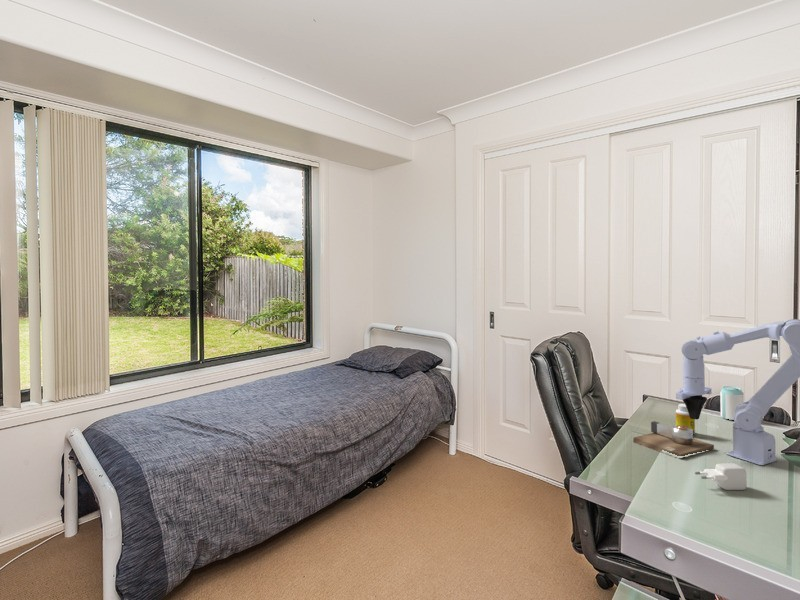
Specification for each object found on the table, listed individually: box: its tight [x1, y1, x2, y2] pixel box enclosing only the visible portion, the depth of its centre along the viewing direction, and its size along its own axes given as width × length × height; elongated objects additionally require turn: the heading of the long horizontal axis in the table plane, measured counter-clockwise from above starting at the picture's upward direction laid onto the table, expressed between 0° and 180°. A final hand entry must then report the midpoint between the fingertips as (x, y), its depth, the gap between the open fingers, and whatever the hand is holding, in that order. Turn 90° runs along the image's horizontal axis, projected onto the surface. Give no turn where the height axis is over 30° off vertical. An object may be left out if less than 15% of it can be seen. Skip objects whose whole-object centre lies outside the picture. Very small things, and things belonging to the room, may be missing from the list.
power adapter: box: [694, 462, 748, 491], centre depth 110 cm, size 11×5×6 cm, turn 87°
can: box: [719, 386, 745, 421], centre depth 161 cm, size 7×7×12 cm
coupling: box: [650, 420, 694, 444], centre depth 141 cm, size 13×6×5 cm, turn 21°
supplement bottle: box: [675, 403, 696, 435], centre depth 148 cm, size 6×6×10 cm
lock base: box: [632, 432, 715, 456], centre depth 139 cm, size 16×16×2 cm
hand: (694, 418), depth 136 cm, fingers closed
